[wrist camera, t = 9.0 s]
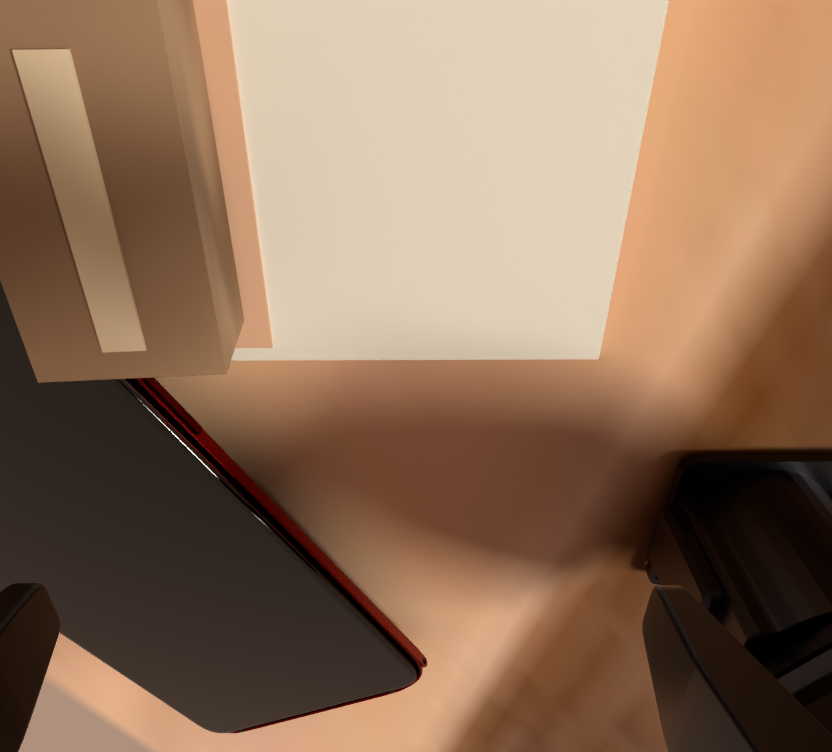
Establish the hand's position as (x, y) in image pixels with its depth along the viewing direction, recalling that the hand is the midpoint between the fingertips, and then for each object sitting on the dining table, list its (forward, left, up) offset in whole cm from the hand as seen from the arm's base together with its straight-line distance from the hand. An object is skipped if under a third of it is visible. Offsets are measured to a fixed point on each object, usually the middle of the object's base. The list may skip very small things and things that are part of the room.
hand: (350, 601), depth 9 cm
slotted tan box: (+6, -3, -10) cm, 12 cm away
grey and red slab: (+9, +10, -11) cm, 17 cm away
